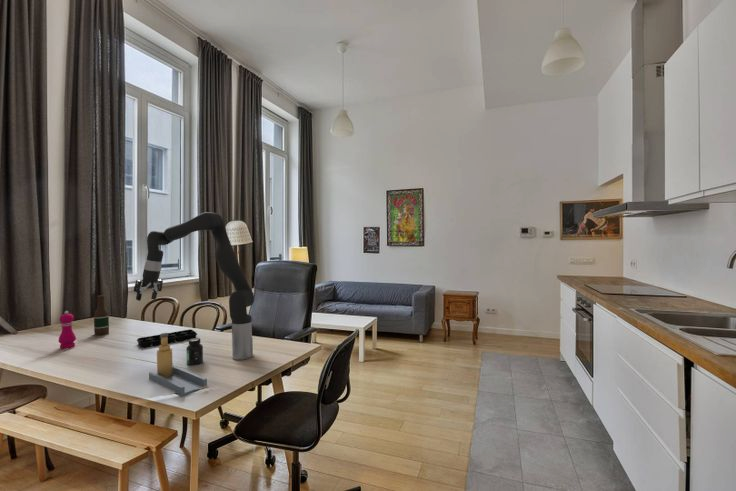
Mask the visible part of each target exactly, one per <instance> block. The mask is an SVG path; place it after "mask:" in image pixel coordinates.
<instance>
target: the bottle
mask: <svg viewBox="0 0 736 491" xmlns="http://www.w3.org/2000/svg"><path fill="white" fill-rule="evenodd" d="M168 333H169V332H162V333H159V335H160V337H161V345H159V346H158V350H156V371H157V373H156V374H158V375H160V376H162V377H165V378H170V377H172V376H173V366H174V365H173V348H171V343H169V344H168Z"/></svg>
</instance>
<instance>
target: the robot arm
mask: <svg viewBox="0 0 736 491" xmlns="http://www.w3.org/2000/svg"><path fill="white" fill-rule="evenodd" d="M199 231H206V232H207V231H209V232H211V233H212V236H213V238H214V242H215V250H214V257H215V261H216V262H217V266H218V268H219V270H220V272H222V273H223V274H224V275H225V276H226V277H227V279H229V281H230V282H231V283H232V285H233V287H234V291H233V292H231V293H230V296H229V298H228V308H229V317H230V320H231V343H232V344H231V345H232V347H231V349H232V351H231V352H232V359H233V360H236V361H237V360H238V361H242V360H247V359H251V358H253V357H254V351H253V350H254V347H253V346H254V345H253V343H254V340H253V339H254V338H253V327H252V326H253V323H252V322H253V321H252V315H251V314H248V310H247V308H249V307H251V306H253V304H254V302H255V295H254V292H253V290H252V288H251V287H250V285H249V283H248V281H247V279H246V276H245V275H244V272H243V270H242V268H241V266H240V265H241V264H240V263H239V261H238V257H237V255H236V253H235V251H234V248H233V246H232V243H231V240H230V238H229V235H228V233H227V228H226V225H225V222H224V219H223V217H222V216H221V215H220V214H219V213H217V212H208V211H205V212H204V211H203V212H202V213H200V214H198V215H196V216H194V217H192V218H191V219H189V220H187V221H184V222H182V223H179V224H176V225H173V226H169V227H167V228H166V229H165V230H164V231H159V230H152V231H150V232H148V234H147V236H146V246H147V255H146V258H145V263H144V267H143V271H142V280H140V279H136V280H135V283H134V287H133V292H134V293H136V297H135V300H136V301H139V302H140V301H142V296H143V292H144V291H146V290H147V289H148V290H149V289H152V294H151V300H153V301H154V300H156V299H157V295H158V293H159V292H162V290H163V289H162V288H163V284H164V281H163V279H160V275H161V270H162V265H163V264H162V262H163V258H164V251H163V250H161V249H159V246H166V245H167V246H168V245H170V244H171V243H173V242H174V241H177V240H180V239H183V238H186V237H187V236H188V235H190V234H192V233H194V232H199Z"/></svg>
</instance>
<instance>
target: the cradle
mask: <svg viewBox="0 0 736 491" xmlns="http://www.w3.org/2000/svg"><path fill="white" fill-rule="evenodd" d="M148 379H149V380H150V381H153V382H155V383H157V384H159V385H161V386H163V387H165V388H168V389H170V390H171V391H173V394H174V395H177V396H178V397H180V398H182V397H186V396H188V395H190V394H194V393H196V392H199V391H202V390H204V389H205V387H206V386H208V378H206V377H204V376H201V375H200V374H199V375H198V374H196V373H194V372H191V371H188V370H186V369H184V368H181V367H179V366H176V365H173V376H172V377H170V378H165V377H162V376H160V375H158V374H157V373H156V372H153V371H150V372H148Z"/></svg>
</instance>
